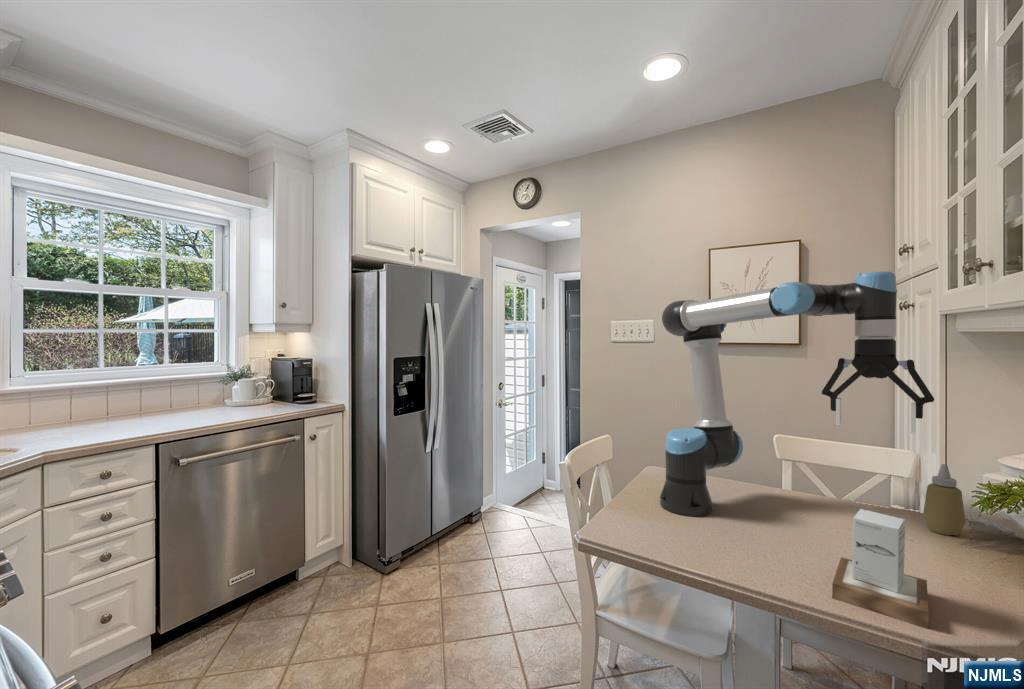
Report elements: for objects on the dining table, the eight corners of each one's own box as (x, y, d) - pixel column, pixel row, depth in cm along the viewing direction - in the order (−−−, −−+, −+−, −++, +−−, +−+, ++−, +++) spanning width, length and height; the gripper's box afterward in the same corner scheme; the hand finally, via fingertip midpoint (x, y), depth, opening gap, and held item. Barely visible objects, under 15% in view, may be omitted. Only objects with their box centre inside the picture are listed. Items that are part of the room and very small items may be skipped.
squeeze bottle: (963, 531, 118) (964, 464, 117) (967, 541, 112) (967, 471, 111) (922, 522, 123) (923, 458, 123) (923, 532, 117) (924, 465, 117)
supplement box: (850, 578, 89) (851, 516, 89) (859, 566, 94) (859, 507, 94) (898, 594, 84) (899, 528, 83) (905, 580, 88) (906, 518, 88)
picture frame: (832, 597, 88) (832, 581, 88) (840, 570, 99) (840, 555, 98) (928, 628, 79) (928, 610, 79) (926, 594, 89) (926, 578, 89)
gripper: (948, 338, 97) (947, 433, 98) (813, 338, 114) (813, 419, 115) (950, 338, 92) (949, 439, 92) (808, 338, 109) (808, 424, 109)
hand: (874, 428), depth 103 cm, fingers open, 13 cm apart
